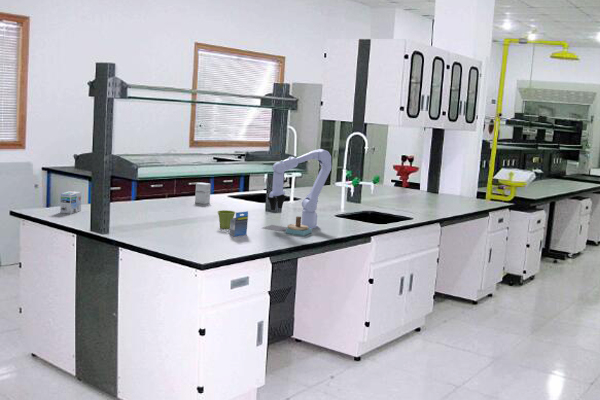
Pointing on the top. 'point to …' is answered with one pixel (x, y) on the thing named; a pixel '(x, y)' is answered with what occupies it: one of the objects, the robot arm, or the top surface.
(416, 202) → the top surface
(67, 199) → the light bulb box
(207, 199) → the supplement box
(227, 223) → the plant pot
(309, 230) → the dish
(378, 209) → the top surface
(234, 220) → the label tape box
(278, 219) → the top surface
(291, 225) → the lid
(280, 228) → the mat
